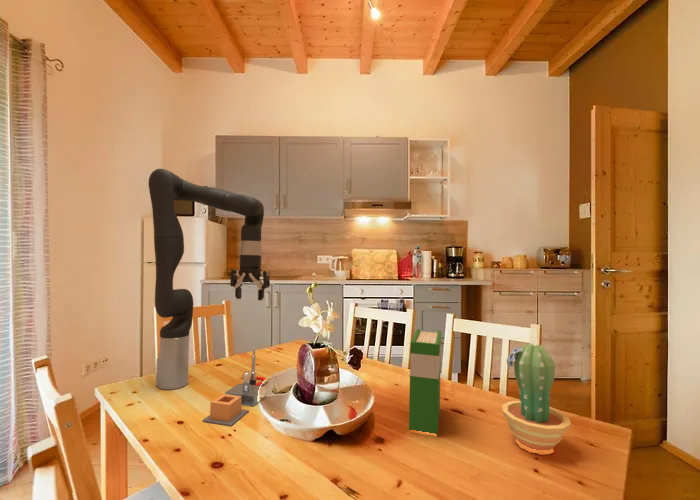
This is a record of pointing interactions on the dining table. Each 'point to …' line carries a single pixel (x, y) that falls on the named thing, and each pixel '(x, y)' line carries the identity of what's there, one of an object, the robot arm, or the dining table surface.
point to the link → (225, 407)
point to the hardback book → (425, 381)
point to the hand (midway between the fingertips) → (249, 299)
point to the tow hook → (253, 378)
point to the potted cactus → (534, 400)
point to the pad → (226, 423)
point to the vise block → (245, 391)
